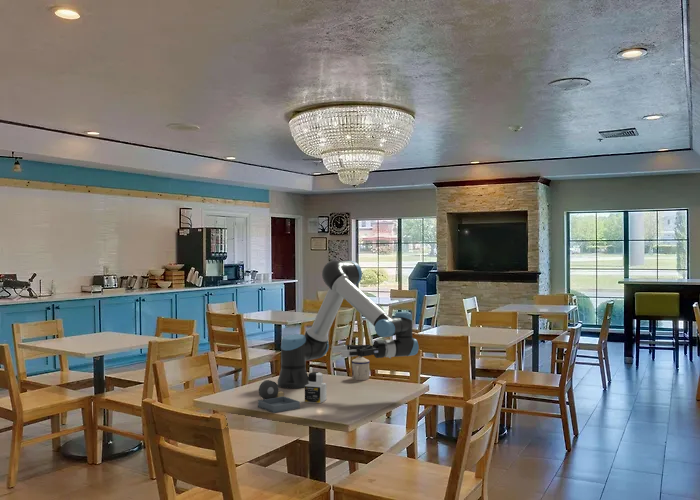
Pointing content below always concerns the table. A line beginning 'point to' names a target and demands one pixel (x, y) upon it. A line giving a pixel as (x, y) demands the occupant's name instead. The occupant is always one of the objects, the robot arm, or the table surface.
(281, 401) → the tray
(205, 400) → the table surface
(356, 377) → the teacup with lid
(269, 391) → the disc
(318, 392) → the medicine bottle
